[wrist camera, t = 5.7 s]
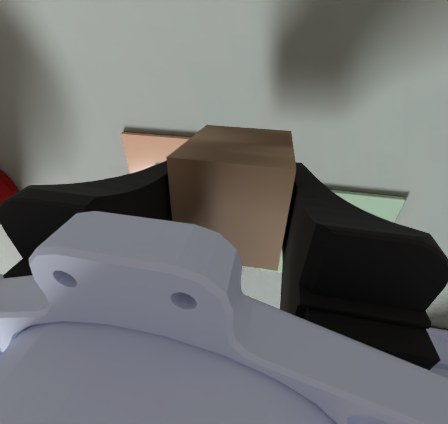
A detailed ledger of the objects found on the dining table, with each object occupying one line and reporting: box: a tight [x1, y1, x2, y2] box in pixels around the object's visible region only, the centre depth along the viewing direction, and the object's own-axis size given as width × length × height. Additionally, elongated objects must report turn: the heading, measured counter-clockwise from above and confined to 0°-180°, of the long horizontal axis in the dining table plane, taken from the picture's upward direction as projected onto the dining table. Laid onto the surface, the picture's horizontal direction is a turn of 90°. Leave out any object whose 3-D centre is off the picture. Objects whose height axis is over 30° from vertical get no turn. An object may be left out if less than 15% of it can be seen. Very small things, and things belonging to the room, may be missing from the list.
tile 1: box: [120, 132, 191, 174], centre depth 20 cm, size 9×9×1 cm
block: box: [166, 125, 296, 271], centre depth 11 cm, size 4×4×5 cm
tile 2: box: [259, 190, 405, 273], centre depth 20 cm, size 9×9×1 cm
